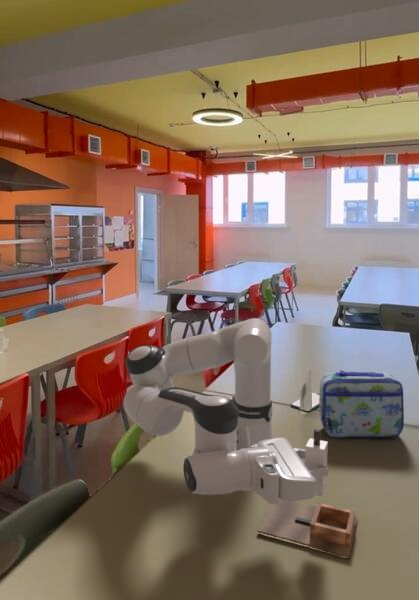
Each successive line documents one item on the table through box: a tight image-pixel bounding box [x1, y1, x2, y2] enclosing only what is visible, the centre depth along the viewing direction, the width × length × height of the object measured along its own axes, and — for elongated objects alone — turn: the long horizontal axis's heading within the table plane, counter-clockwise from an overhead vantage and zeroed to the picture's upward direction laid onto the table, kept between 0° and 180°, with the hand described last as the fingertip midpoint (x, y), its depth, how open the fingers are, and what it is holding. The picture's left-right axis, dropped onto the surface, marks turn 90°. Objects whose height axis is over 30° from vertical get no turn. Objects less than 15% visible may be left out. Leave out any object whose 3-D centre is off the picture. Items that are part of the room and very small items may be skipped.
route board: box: [257, 499, 358, 559], centre depth 108 cm, size 20×14×4 cm
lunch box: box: [318, 369, 405, 439], centre depth 153 cm, size 26×11×21 cm, turn 84°
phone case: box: [290, 392, 320, 412], centre depth 181 cm, size 9×2×16 cm
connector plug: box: [304, 429, 329, 497], centre depth 104 cm, size 4×4×14 cm
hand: (320, 462), depth 104 cm, fingers closed on connector plug, 6 cm apart
